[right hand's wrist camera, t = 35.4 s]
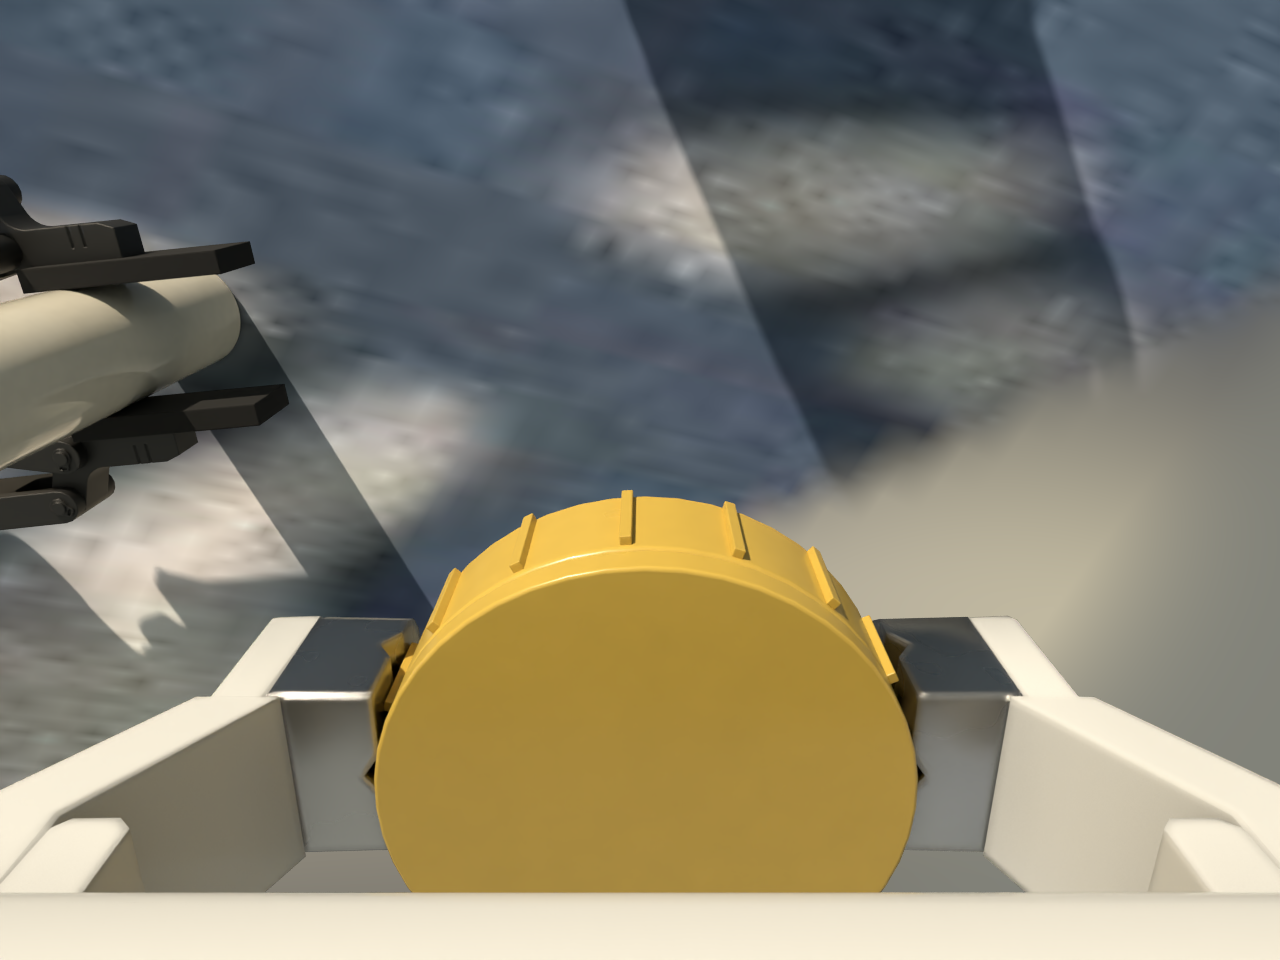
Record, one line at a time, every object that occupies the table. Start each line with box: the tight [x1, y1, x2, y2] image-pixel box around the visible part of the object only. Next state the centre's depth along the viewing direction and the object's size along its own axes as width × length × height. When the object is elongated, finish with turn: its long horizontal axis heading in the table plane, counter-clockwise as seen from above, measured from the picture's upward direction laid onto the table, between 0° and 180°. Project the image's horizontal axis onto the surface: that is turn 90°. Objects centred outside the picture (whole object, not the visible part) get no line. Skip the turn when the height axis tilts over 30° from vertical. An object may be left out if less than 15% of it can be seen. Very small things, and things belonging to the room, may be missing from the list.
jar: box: [0, 275, 241, 471], centre depth 29 cm, size 4×4×17 cm
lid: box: [374, 490, 918, 893], centre depth 9 cm, size 5×5×2 cm
